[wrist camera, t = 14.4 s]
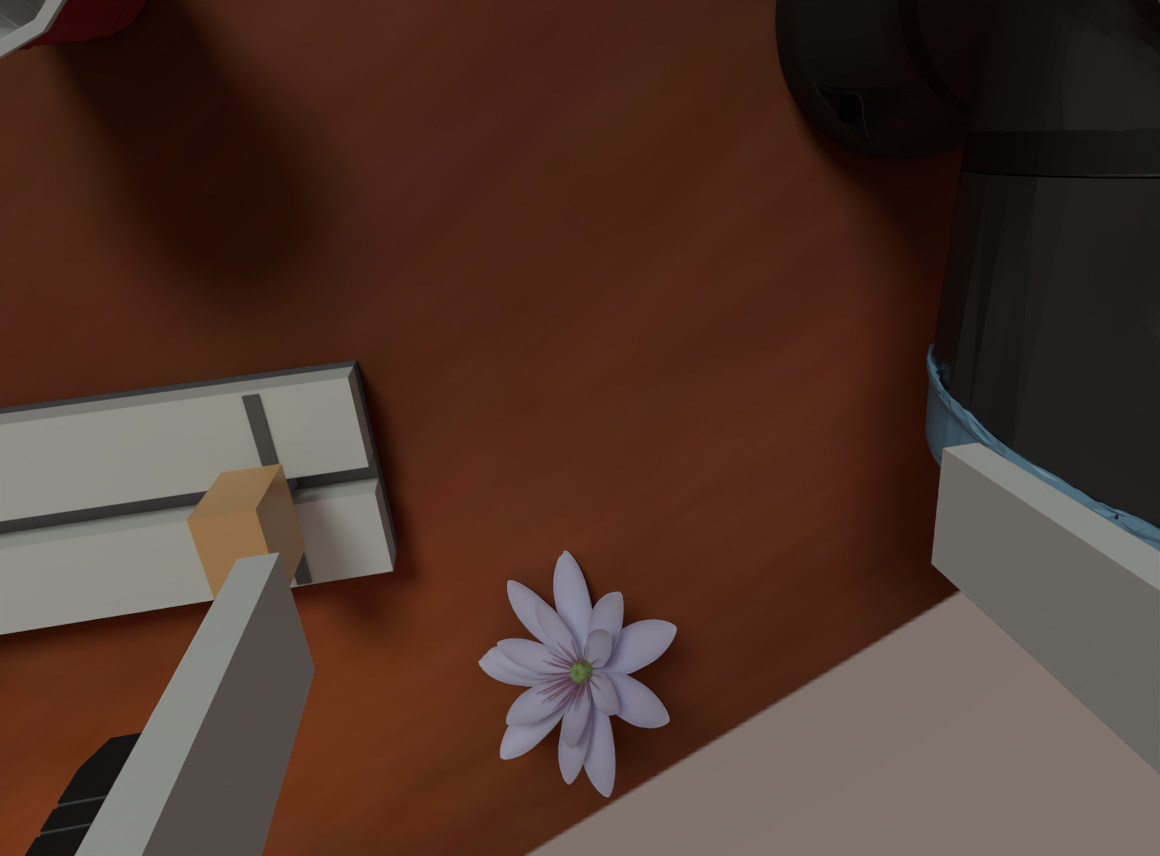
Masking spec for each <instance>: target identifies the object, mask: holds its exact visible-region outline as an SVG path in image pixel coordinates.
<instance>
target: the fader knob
mask: <svg viewBox="0 0 1160 856" xmlns="http://www.w3.org/2000/svg"><path fill="white" fill-rule="evenodd" d="M296 486H297V481H296V478H290V479H286V477H285V473H284V470H283V466H282V464H276V465H269V466H262V467H256V468H249V469H242V470H235V471H228V472H221V474H220V475H219V476H218V478H217V479H216V480H215V482H214V483H213V485H212V486H211V487H210V489H209V490H208V491H207V493H206V494H205V495H204V497H203V498H202V500H201V501H200V502H199V504H198V505H197V506H196V508H195V509H194V510H193V512H192V513H191V514H190V516H189V517H188V519H187V520H186V521H187V523H188V526H189V529H190V532H191V535H192V538H193V540H194V543H195V546H196V549H197V552H198V555H199V558H200V560H201V563H202V566H203V569H204V572H205V575H206V577H207V580H208V583H209V586H210V589H211V592H212V594H213V597H214V600H215V599H216V597H217V595H218V593H219V591H220V589H221V588H222V586H223V584H224V582H225V580H226V578H227V577H228V575H229V573H230V571H231V569H232V567H233V566H234V564H235V562H236V560H237V559H239V558H246V557H252V556H258V555H265V554H271V553H278V552H280V555H281V558H282V562H283V565H284V568H285V572H286V575H287V578H288V582H289V585H291V582H292V580H293V577H294V575H295V572H296V570H297V567H298V565H299V562H300V560H301V557H302V555H303V552H304V550H305V544H304V540H303V537H302V533H301V530H300V526H299V523H298V519H297V516H296V512H295V509H294V505H293V502H292V498H291V496H292V494H293V492H294V490H295V488H296Z"/></svg>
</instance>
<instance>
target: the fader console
mask: <svg viewBox="0 0 1160 856" xmlns="http://www.w3.org/2000/svg"><path fill="white" fill-rule="evenodd" d="M276 464H282V466H283V470H284V473H285V477H286V479H290V478H296V481H297V486H296V488H295V490H294V492H293V494H292V496H291V498H292V502H293V505H294V509H295V512H296V516H297V519H298V523H299V526H300V530H301V533H302V537H303V540H304V544H305V550H304V552H303V555H302V557H301V560H300V562H299V565H298V567H297V570H296V572H295V575H294V577H293V580H292V582H291V585H290V588H292V587H298V586H304V585H310V584H316V583H322V582H329V581H335V580H341V579H347V578H353V577H360V576H366V575H372V574H378V573H384V572H391V571H393V569H394V563H395V557H396V551H397V546H398V541H397V537H396V532H395V528H394V523H393V519H392V515H391V510H390V506H389V501H388V497H387V493H386V488H385V484H384V479H383V475H382V471H381V466H380V462H379V457H378V453H377V449H376V444H375V440H374V435H373V431H372V427H371V422H370V418H369V413H368V409H367V405H366V400H365V396H364V391H363V387H362V382H361V378H360V374H359V369H358V365H357V360H354V361H347V362H340V363H332V364H325V365H317V366H310V367H302V368H295V369H288V370H280V371H273V372H265V373H258V374H250V375H243V376H235V377H228V378H221V379H213V380H206V381H198V382H191V383H183V384H176V385H169V386H161V387H154V388H146V389H139V390H131V391H124V392H116V393H109V394H102V395H94V396H87V397H79V398H72V399H64V400H57V401H50V402H42V403H35V404H27V405H20V406H12V407H5V408H0V635H1V634H7V633H13V632H19V631H25V630H32V629H38V628H44V627H50V626H56V625H63V624H69V623H75V622H81V621H87V620H94V619H100V618H106V617H112V616H118V615H124V614H131V613H137V612H143V611H149V610H155V609H162V608H168V607H174V606H180V605H186V604H193V603H199V602H205V601H211V600H214V597H213V594H212V592H211V589H210V586H209V583H208V580H207V577H206V575H205V572H204V569H203V566H202V563H201V560H200V558H199V555H198V552H197V549H196V546H195V543H194V540H193V538H192V535H191V532H190V529H189V526H188V523H187V521H186V520H187V519H188V517H189V516H190V514H191V513H192V512H193V510H194V509H195V508H196V506H197V505H198V504H199V502H200V501H201V500H202V498H203V497H204V495H205V494H206V493H207V491H208V490H209V489H210V487H211V486H212V485H213V483H214V482H215V480H216V479H217V478H218V476H219V475H220V474H221V472H228V471H235V470H242V469H249V468H256V467H262V466H269V465H276Z"/></svg>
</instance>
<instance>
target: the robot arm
mask: <svg viewBox="0 0 1160 856" xmlns="http://www.w3.org/2000/svg"><path fill="white" fill-rule="evenodd" d="M776 33H777V43H778V49H779V55H780V59H781V64H782V67H783V70H784V74H785V77H786V79H787V82H788V84H789V87H790V89H791V91H792V93H793V95H794V97H795V99H796V101H797V102H798V104H799V106H800V107H801V109H802V110H803V112H804V113H805V114H806V116H807V117H808V118H809V119H810V120H811V122H812V123H813V124H814V125H815V126H816V127H817V128H818V129H819V130H820V131H822V132H823V133H824V134H825V135H826V136H828V137H829V138H830V139H832V140H833V141H835V142H836V143H838V144H840V145H841V146H843V147H846V148H848V149H850V150H852V151H855V152H858V153H861V154H865V155H869V156H874V157H882V158H900V159H915V158H925V157H932V156H936V155H940V154H944V153H948V152H951V151H954V150H957V149H960V148H962V147H964V153H963V160H962V166H961V169H960V174H959V180H958V187H957V194H956V200H955V207H954V214H953V220H952V227H951V234H950V240H949V247H948V254H947V260H946V267H945V274H944V280H943V287H942V294H941V300H940V307H939V314H938V320H937V327H936V334H935V340H934V343H933V344H931V345H930V347H929V350H928V353H927V364H926V366H927V371H928V375H929V387H928V399H927V412H926V423H925V431H926V438H927V443H928V446H929V449H930V451H931V453H932V455H933V457H934V459H935V460H936V462H937V463H938V464H939V466H940V467H941V473H940V483H939V493H938V503H937V512H936V522H935V532H934V542H933V552H932V562H931V564H933V565H934V566H935V567H936V568H937V569H938V570H939V571H940V572H941V573H942V574H943V575H944V576H946V577H947V578H948V579H949V580H950V581H951V582H952V583H953V584H954V585H955V586H956V587H957V588H958V589H960V590H961V591H962V592H963V593H964V594H965V595H966V596H967V597H968V598H969V599H971V600H972V601H973V602H974V603H975V604H976V605H977V606H978V607H979V608H980V609H981V610H982V611H984V613H986V614H987V615H988V616H989V617H990V618H991V619H992V620H993V621H994V622H995V623H996V624H998V625H999V626H1000V627H1001V628H1002V629H1003V630H1004V631H1005V632H1006V633H1007V634H1008V635H1010V636H1011V637H1012V638H1013V639H1014V640H1015V641H1016V642H1017V643H1018V644H1019V645H1020V646H1021V647H1023V649H1025V650H1026V651H1027V652H1028V653H1029V654H1030V655H1031V656H1032V657H1033V658H1034V659H1036V661H1038V662H1039V663H1040V664H1041V665H1042V666H1043V667H1044V668H1045V669H1046V670H1047V671H1048V672H1049V673H1051V674H1052V675H1053V676H1054V677H1055V678H1056V679H1057V680H1058V681H1059V682H1060V683H1061V684H1062V685H1064V686H1065V687H1066V688H1067V689H1068V690H1069V691H1070V692H1071V693H1072V694H1073V695H1075V697H1077V698H1078V699H1079V700H1080V701H1081V702H1082V703H1083V704H1084V705H1085V706H1086V707H1087V708H1089V709H1090V710H1091V711H1092V712H1093V713H1094V714H1095V715H1096V716H1097V717H1098V718H1099V719H1100V720H1101V721H1103V722H1104V723H1105V724H1106V725H1107V726H1108V727H1109V728H1110V729H1111V730H1112V731H1113V732H1114V733H1115V734H1117V735H1118V736H1119V737H1120V738H1121V739H1122V740H1123V741H1124V742H1125V743H1126V744H1127V745H1129V746H1130V747H1131V748H1132V749H1133V750H1134V751H1135V752H1136V753H1137V754H1138V755H1139V756H1140V757H1141V758H1143V759H1144V760H1145V761H1146V762H1147V763H1148V764H1149V765H1150V766H1151V767H1152V768H1153V769H1154V770H1156V771H1157V772H1158V773H1159V774H1160V0H777V2H776ZM314 671H315V668H314V665H313V661H312V658H311V655H310V651H309V648H308V645H307V641H306V638H305V635H304V631H303V628H302V625H301V621H300V618H299V615H298V611H297V608H296V605H295V601H294V598H293V595H292V592H291V588H290V585H289V582H288V578H287V575H286V572H285V568H284V565H283V562H282V558H281V555H280V552H278V553H271V554H265V555H258V556H252V557H246V558H239V559H237V560H236V562H235V564H234V566H233V567H232V569H231V571H230V573H229V575H228V577H227V578H226V580H225V582H224V584H223V586H222V588H221V589H220V591H219V593H218V595H217V597H216V599H215V600H214V602H213V604H212V606H211V608H210V609H209V611H208V613H207V615H206V617H205V619H204V620H203V622H202V624H201V626H200V628H199V630H198V631H197V633H196V635H195V637H194V639H193V641H192V642H191V644H190V646H189V648H188V650H187V651H186V653H185V655H184V657H183V659H182V661H181V662H180V664H179V666H178V668H177V670H176V672H175V673H174V675H173V677H172V679H171V681H170V682H169V684H168V686H167V688H166V690H165V692H164V693H163V695H162V697H161V699H160V701H159V703H158V704H157V706H156V708H155V710H154V712H153V714H152V715H151V717H150V719H149V721H148V723H147V724H146V726H145V728H144V730H143V732H142V733H137V734H131V735H125V736H120V737H114V738H110V739H109V740H108V741H107V742H106V743H105V744H104V745H103V746H102V747H101V748H100V749H99V750H98V751H97V752H96V753H94V754H93V755H92V756H91V757H90V758H89V759H88V760H87V761H86V762H85V763H84V764H83V765H82V766H81V767H80V768H79V769H78V770H77V772H76V773H75V775H74V777H73V778H72V780H71V782H70V783H69V785H68V786H67V788H66V790H65V791H64V793H63V795H62V796H61V798H60V799H59V801H58V807H57V809H53V811H52V812H51V814H50V816H49V817H48V819H47V820H46V822H45V824H44V825H43V827H42V829H41V830H40V831H41V835H40V837H37V838H35V840H34V842H33V843H32V845H31V846H30V848H29V850H28V851H27V853H26V854H25V856H261V855H262V852H263V848H264V845H265V841H266V838H267V834H268V831H269V828H270V824H271V821H272V817H273V814H274V810H275V807H276V803H277V800H278V796H279V793H280V789H281V786H282V782H283V779H284V776H285V772H286V769H287V765H288V762H289V758H290V755H291V751H292V748H293V744H294V741H295V737H296V734H297V730H298V727H299V723H300V720H301V717H302V713H303V710H304V706H305V703H306V699H307V696H308V692H309V689H310V685H311V682H312V678H313V675H314Z"/></svg>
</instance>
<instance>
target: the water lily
mask: <svg viewBox="0 0 1160 856" xmlns="http://www.w3.org/2000/svg"><path fill="white" fill-rule="evenodd" d="M553 589H554V598H555V604H556V609H557V613H558V614H557V613H556V612H555V611H554V610H553V609H552V608H551V607H550V606H549V605H548V604H547V603H546V602H544V601H543V600H542V599H541V598H540V597H539V596H538V595H537V594H535V593H534V592H533V591H531V590H530V589H529V588H527V587H526V586H524V585H522V584H520V583H518V582H515V581H512V580H509V581H508V583H507V591H508V596H509V600H510V602H511V605H512V607H513V609H514V611H515V613H516V614H517V616H518V618H519V619H520V620H521V622H522V623H523V624H524V625H525V627H526V628H527V629H528V630H529V631H530V632H531V633H532V634H533V635H534V636H535V637H536V638H537V639H539V640H540V641H541V642H542V643H544V644H545V645H544V644H540V643H537V642H534V641H530V640H526V639H517V638H511V639H505V640H502V641H499V642H498V643H497V647H494V648H492V649H490V650H489V651H488V652H487V654H485V655H484V656H483V658H482V659H481V660H480V661H479V665H480V666H481V668H482V669H483V670H484V671H485V672H486V673H487V674H488V675H490V676H491V677H493V678H495V679H497V680H499V681H501V682H504V683H508V684H513V685H520V686H530V687H531V686H533V687H532V688H530V689H529V690H527V691H526V692H524V693H523V694H522V695H521V696H520V697H519V698H518V699H517V700H516V701H515V702H514V703H513V705H512V706H511V708H510V710H509V712H508V715H507V719H506V723H507V724H508V725H509V727H508V729H507V730H506V732H505V735H504V737H503V740H502V743H501V748H500V757H501V758H502V759H512V758H515V757H518V756H520V755H522V754H524V753H526V752H527V751H529V750H530V749H532V748H533V747H534V746H535V745H537V744H538V743H539V742H540V741H541V740H542V739H543V738H544V737H545V736H546V735H547V734H548V733H549V732H550V731H551V730H552V729H553V728H554V727H555V725H556V724H557V723H558V722H559V720H560V719H561V718H562V716H563V714H564V713H565V714H564V716H563V721H562V728H561V733H560V739H559V749H558V754H559V765H560V769H561V773H562V776H563V778H564V780H565V782H566V783H567V784H571V783H572V782H573V781H574V779H575V778H576V777H577V775H578V773H579V771H580V769H581V767H582V765H583V764H584V767H585V770H586V772H587V775H588V777H589V779H590V780H591V782H592V784H593V785H594V786H595V788H596V789H597V790H598V791H599V792H600V793H601V794H602V795H603V796H605V797H609V796H610V794H611V792H612V788H613V785H614V778H615V747H614V739H613V733H612V728H611V723H610V720H609V716H608V715H614V714H616V715H617V716H619V717H620V718H622V719H623V720H625V721H627V722H629V723H631V724H633V725H635V726H639V727H644V728H657V727H661V726H664V725H666V724H667V723H668V722H669V721H670V720H669V715H668V713H667V711H666V709H665V707H664V706H663V704H662V703H661V701H660V700H659V699H658V698H657V696H656V695H655V694H654V693H653V692H652V691H651V690H649V689H648V688H647V687H646V686H644V685H643V684H642V683H640V682H639V681H637V680H635V679H633V678H632V677H630V676H628V675H626V674H629V673H632V672H635V671H637V670H639V669H641V668H643V667H645V666H647V665H648V664H650V663H652V662H653V661H655V660H656V659H657V658H658V657H659V656H660V655H662V654H663V653H664V651H665V650H666V649H667V648H668V647H669V645H670V644H671V642H672V641H673V639H674V636H675V634H676V626H675V625H673V624H671V623H669V622H666V621H662V620H645V621H639V622H636V623H633V624H631V625H629V626H627V627H625V628H623V629H622V624H623V609H624V607H623V597H622V594H621V593H620V592H612V593H609V594H607V595H605V596H604V597H602V598H601V599H600V600H599V601H598V602H597V604H596V605H595V607H594V608H593V610H592V604H591V600H590V595H589V592H588V588H587V585H586V582H585V579H584V577H583V574H582V572H581V570H580V568H579V566H578V564H577V562H576V561H575V559H574V558H573V556H572V555H571V554H570V553H569V552H568V551H564V553H563V555H562V556H560V557H559V559H558V561H557V564H556V567H555V572H554V581H553Z"/></svg>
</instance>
